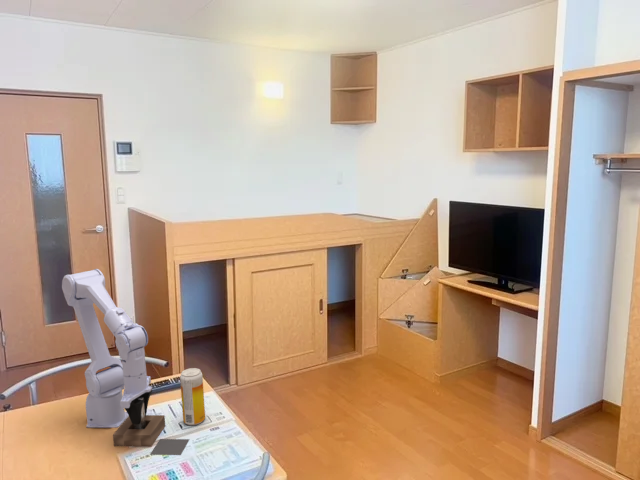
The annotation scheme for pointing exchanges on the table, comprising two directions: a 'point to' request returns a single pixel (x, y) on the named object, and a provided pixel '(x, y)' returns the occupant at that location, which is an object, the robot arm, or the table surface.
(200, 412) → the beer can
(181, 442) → the rubber mat
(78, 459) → the table surface
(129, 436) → the walnut block
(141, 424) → the steel peg
